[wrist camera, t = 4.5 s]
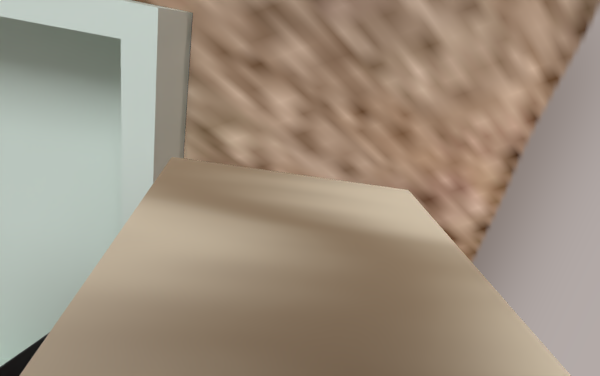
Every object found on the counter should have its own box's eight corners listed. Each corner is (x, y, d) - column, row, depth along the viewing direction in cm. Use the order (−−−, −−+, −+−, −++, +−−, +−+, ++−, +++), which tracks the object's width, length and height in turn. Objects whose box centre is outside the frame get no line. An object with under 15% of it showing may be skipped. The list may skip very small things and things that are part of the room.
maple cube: (162, 344, 9) (61, 661, 5) (171, 156, 7) (13, 384, 3) (352, 356, 10) (429, 637, 5) (408, 189, 8) (600, 409, 3)
